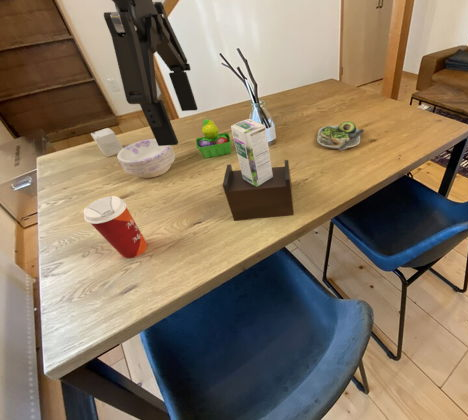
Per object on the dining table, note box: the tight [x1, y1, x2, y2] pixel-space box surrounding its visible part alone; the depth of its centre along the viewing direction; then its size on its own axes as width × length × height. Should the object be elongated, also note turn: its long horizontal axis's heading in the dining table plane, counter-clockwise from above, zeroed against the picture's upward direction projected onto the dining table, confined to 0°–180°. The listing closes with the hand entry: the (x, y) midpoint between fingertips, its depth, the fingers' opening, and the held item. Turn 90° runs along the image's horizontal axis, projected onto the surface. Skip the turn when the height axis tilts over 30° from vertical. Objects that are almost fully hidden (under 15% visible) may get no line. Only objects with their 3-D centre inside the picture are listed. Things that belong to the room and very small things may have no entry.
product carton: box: [90, 127, 124, 158], centre depth 98 cm, size 6×6×7 cm
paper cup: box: [83, 195, 148, 259], centre depth 62 cm, size 8×8×14 cm
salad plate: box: [316, 121, 365, 152], centre depth 104 cm, size 19×18×5 cm
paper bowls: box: [116, 138, 176, 179], centre depth 89 cm, size 15×15×8 cm
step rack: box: [222, 159, 295, 222], centre depth 76 cm, size 15×16×12 cm
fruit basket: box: [195, 118, 232, 159], centre depth 96 cm, size 11×9×11 cm
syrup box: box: [230, 118, 273, 187], centre depth 66 cm, size 6×6×14 cm
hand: (180, 125), depth 47 cm, fingers open, 13 cm apart
